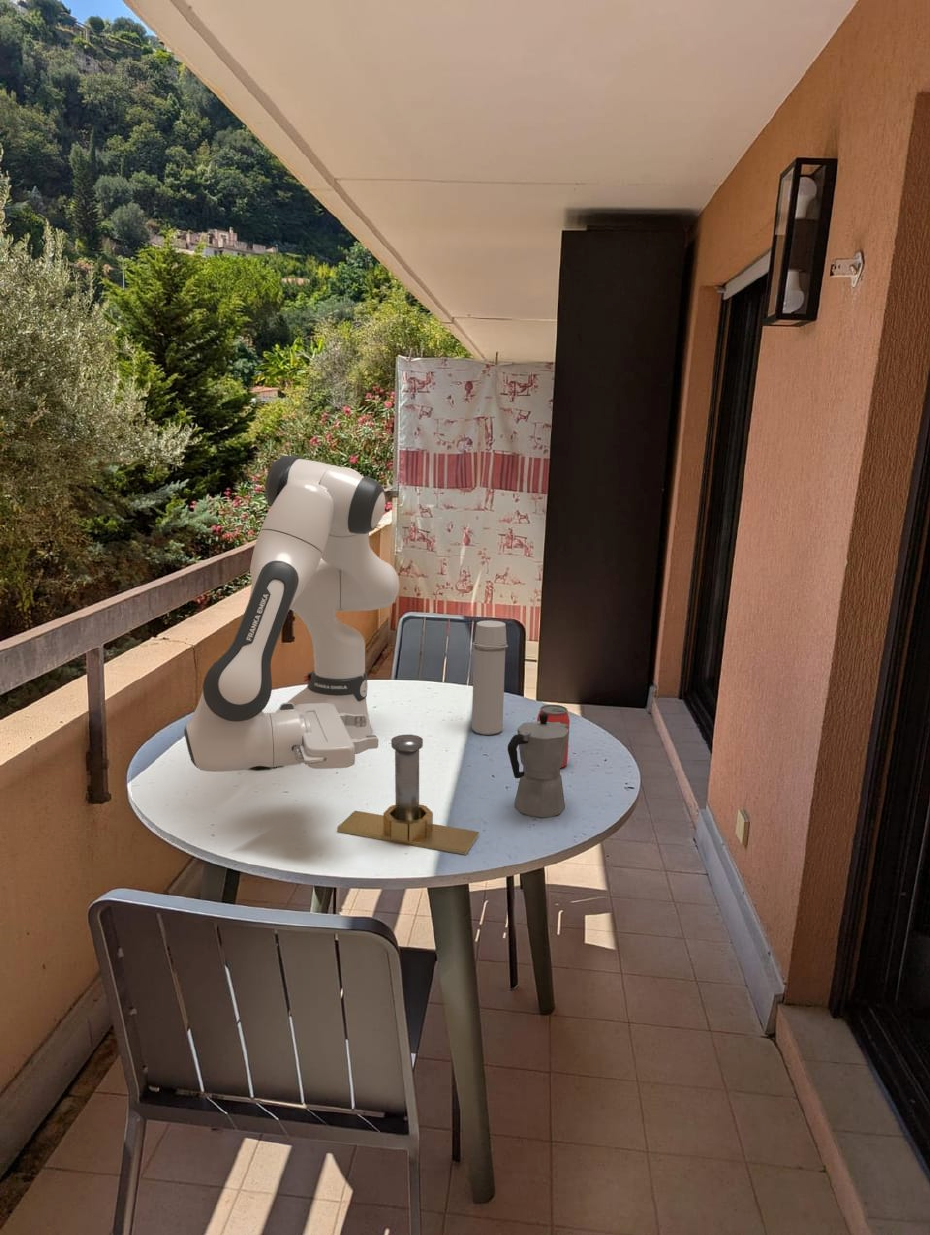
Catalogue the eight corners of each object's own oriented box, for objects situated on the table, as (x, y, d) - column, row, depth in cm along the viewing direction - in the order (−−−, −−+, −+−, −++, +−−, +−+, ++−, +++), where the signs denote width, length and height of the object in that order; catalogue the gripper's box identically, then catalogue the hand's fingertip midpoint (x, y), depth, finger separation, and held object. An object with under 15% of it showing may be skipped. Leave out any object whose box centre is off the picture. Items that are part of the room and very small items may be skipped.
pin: (387, 833, 145) (386, 743, 142) (399, 820, 150) (398, 733, 147) (416, 838, 144) (416, 747, 140) (427, 825, 149) (427, 736, 145)
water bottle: (498, 738, 193) (502, 629, 187) (465, 733, 195) (468, 625, 190) (510, 725, 201) (514, 620, 196) (478, 720, 204) (481, 617, 198)
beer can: (565, 771, 175) (568, 715, 173) (533, 768, 176) (535, 712, 174) (568, 759, 182) (571, 705, 179) (537, 756, 183) (539, 702, 180)
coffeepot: (544, 789, 166) (548, 700, 163) (582, 805, 160) (588, 712, 156) (487, 812, 156) (490, 717, 152) (525, 830, 149) (530, 731, 146)
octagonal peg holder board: (336, 832, 147) (336, 811, 146) (355, 813, 154) (355, 793, 153) (465, 856, 140) (465, 834, 139) (479, 835, 147) (480, 814, 146)
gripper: (296, 745, 133) (385, 736, 137) (281, 699, 151) (359, 693, 156) (297, 782, 134) (385, 773, 138) (282, 732, 153) (359, 725, 157)
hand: (371, 730), depth 147 cm, fingers open, 8 cm apart
